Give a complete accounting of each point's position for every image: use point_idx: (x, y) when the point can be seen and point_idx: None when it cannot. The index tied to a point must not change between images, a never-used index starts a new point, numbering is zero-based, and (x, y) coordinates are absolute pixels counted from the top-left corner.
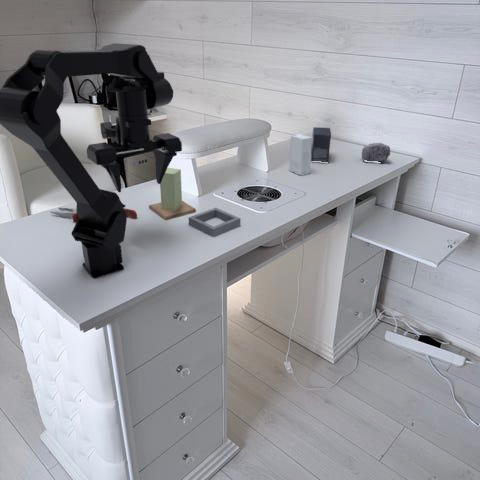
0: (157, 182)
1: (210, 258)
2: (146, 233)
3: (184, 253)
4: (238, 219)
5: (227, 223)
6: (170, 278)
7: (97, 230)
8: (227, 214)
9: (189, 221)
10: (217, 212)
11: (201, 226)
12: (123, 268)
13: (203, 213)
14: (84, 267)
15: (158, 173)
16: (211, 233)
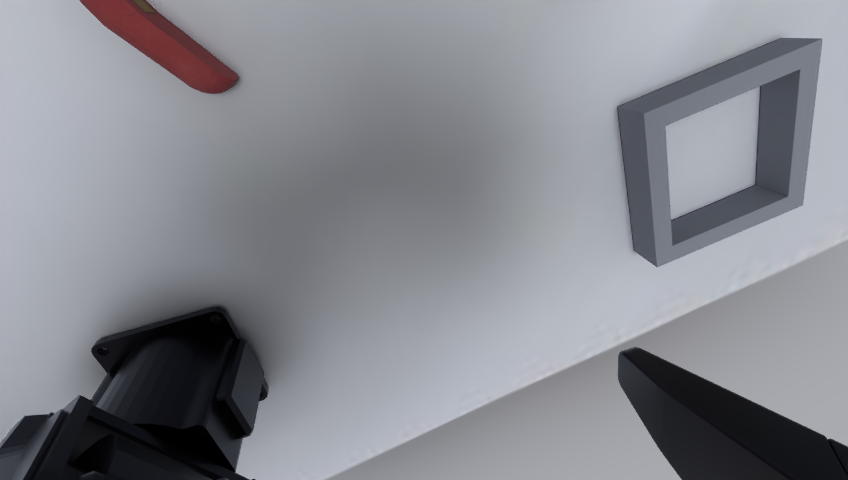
0: (621, 367)
1: (547, 374)
2: (404, 129)
3: (490, 333)
4: (790, 209)
5: (731, 235)
6: (401, 443)
7: (115, 33)
8: (796, 148)
9: (630, 117)
10: (788, 83)
11: (641, 199)
12: (265, 396)
13: (727, 93)
14: (107, 369)
15: (700, 469)
16: (640, 247)
